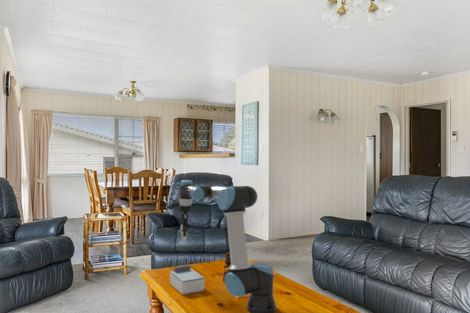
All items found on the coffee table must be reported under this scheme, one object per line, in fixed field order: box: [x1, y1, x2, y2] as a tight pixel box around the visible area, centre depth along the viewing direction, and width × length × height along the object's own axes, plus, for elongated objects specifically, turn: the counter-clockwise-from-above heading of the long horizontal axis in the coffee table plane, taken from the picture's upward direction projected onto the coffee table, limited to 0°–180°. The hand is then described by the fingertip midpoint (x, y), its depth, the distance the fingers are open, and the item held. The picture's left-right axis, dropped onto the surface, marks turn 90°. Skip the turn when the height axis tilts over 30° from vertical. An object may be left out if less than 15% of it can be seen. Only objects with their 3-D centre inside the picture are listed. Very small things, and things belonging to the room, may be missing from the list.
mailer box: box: [169, 272, 206, 296], centre depth 219 cm, size 20×14×7 cm
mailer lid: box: [169, 264, 206, 282], centre depth 219 cm, size 20×14×4 cm
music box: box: [221, 251, 231, 283], centre depth 233 cm, size 15×11×20 cm
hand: (183, 237), depth 229 cm, fingers open, 13 cm apart
